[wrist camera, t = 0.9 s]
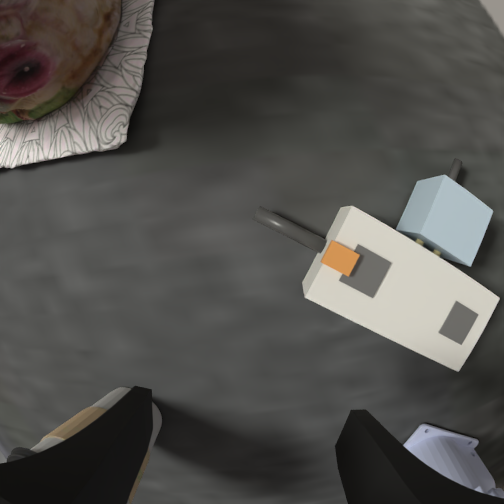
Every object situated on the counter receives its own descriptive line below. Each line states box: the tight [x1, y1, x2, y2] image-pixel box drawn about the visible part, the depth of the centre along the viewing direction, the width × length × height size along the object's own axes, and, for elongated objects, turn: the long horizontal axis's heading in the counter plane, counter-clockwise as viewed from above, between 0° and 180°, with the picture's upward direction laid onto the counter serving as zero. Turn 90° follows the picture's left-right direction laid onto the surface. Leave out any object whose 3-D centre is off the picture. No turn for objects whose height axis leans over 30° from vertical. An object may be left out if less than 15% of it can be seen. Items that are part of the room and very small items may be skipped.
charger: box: [396, 158, 493, 267], centre depth 18 cm, size 9×4×5 cm, turn 154°
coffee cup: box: [7, 387, 162, 504], centre depth 19 cm, size 9×9×15 cm
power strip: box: [253, 206, 500, 372], centre depth 20 cm, size 6×18×5 cm, turn 64°
